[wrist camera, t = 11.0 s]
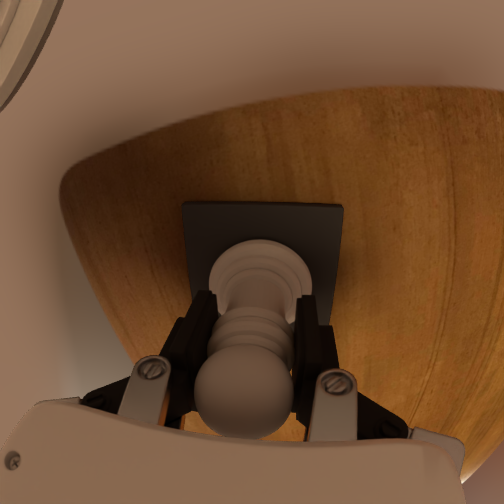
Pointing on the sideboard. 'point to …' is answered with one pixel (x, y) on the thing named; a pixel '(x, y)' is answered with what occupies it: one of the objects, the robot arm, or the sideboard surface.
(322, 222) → the mat
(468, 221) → the sideboard surface
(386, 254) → the sideboard surface
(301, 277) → the chess piece
